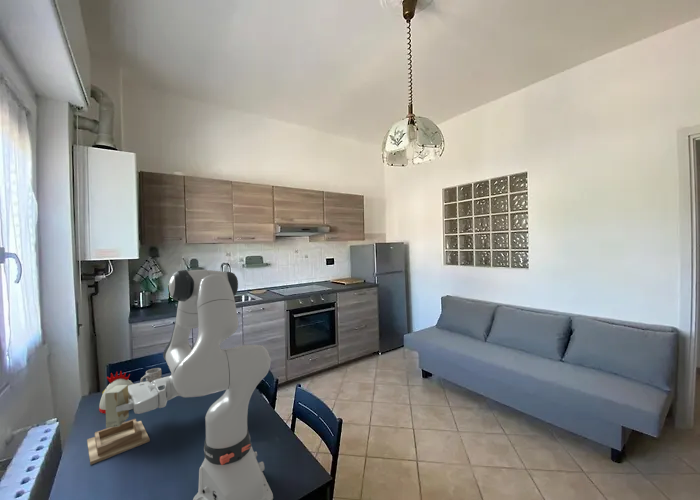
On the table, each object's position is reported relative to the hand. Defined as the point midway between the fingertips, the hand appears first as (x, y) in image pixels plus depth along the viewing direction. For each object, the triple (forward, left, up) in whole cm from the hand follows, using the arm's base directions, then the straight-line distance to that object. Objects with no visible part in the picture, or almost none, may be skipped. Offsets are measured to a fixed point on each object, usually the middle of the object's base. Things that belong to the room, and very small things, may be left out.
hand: (114, 404), depth 106 cm
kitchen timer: (+32, -5, -14) cm, 35 cm away
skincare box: (0, -1, -7) cm, 7 cm away
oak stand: (0, -1, -14) cm, 14 cm away
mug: (+45, -19, -14) cm, 51 cm away
